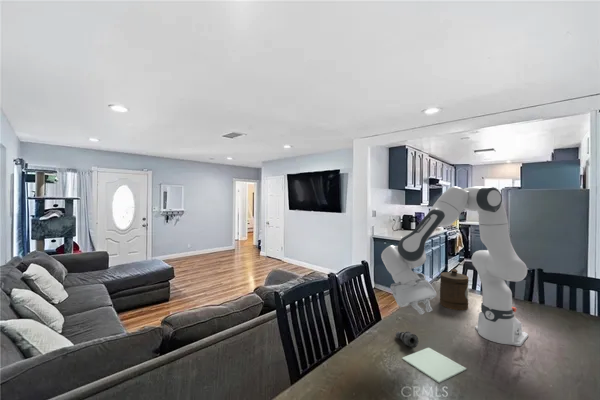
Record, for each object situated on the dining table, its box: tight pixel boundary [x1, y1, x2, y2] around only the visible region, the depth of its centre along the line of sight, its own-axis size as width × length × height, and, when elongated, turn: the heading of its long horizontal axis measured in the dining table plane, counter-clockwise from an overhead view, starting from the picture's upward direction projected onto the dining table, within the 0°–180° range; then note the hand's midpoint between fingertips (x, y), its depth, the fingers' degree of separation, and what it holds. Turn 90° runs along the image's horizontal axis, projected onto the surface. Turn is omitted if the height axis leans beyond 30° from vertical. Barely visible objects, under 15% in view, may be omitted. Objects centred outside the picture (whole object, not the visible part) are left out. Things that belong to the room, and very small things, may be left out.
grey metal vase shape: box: [395, 331, 419, 348], centre depth 121 cm, size 6×6×12 cm
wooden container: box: [439, 268, 469, 311], centre depth 163 cm, size 15×15×22 cm
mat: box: [401, 347, 467, 384], centre depth 105 cm, size 16×16×1 cm
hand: (426, 312), depth 106 cm, fingers open, 3 cm apart
